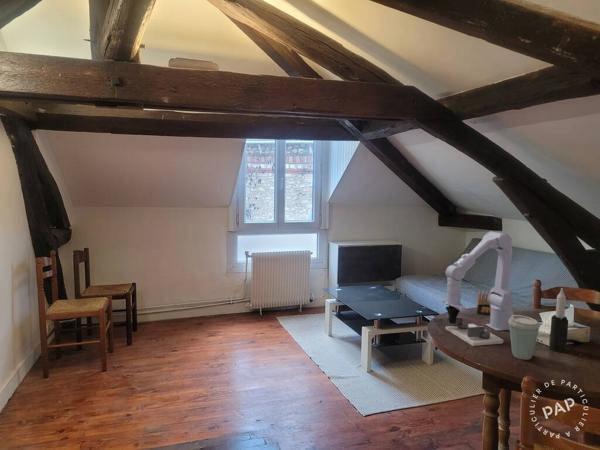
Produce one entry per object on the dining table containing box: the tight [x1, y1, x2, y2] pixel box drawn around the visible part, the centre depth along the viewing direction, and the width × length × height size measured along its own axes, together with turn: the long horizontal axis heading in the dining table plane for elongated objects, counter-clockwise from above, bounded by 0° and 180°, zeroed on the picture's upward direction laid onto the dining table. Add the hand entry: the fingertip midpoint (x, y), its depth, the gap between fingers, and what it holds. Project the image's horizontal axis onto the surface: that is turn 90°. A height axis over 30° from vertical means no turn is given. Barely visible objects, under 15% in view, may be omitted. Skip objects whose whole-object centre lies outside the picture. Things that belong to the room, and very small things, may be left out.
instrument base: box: [445, 323, 504, 347], centre depth 179 cm, size 14×20×2 cm
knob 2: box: [467, 325, 491, 339], centre depth 173 cm, size 10×4×4 cm, turn 102°
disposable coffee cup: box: [508, 314, 541, 361], centre depth 157 cm, size 11×11×15 cm
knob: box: [445, 316, 469, 329], centre depth 185 cm, size 10×4×4 cm, turn 86°
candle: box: [549, 287, 569, 354], centre depth 164 cm, size 5×5×25 cm
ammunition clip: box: [476, 290, 491, 316], centre depth 208 cm, size 11×2×12 cm, turn 78°
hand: (452, 323), depth 183 cm, fingers closed, pressing on knob
